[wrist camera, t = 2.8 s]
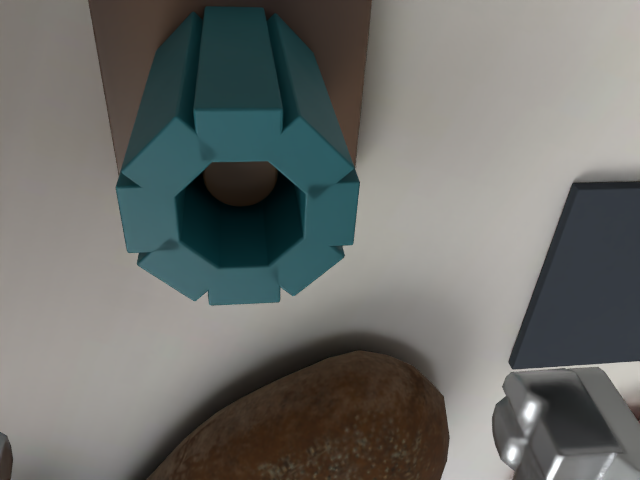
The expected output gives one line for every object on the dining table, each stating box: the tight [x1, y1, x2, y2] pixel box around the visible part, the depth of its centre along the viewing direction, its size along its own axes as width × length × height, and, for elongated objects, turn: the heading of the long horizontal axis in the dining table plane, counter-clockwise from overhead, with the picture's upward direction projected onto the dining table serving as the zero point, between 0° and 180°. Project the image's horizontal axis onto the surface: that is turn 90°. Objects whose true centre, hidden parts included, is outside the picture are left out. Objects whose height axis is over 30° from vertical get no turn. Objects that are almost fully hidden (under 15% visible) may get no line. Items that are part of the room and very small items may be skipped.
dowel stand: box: [88, 0, 372, 207], centre depth 18 cm, size 9×9×8 cm
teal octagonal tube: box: [116, 6, 360, 305], centre depth 17 cm, size 6×6×8 cm
